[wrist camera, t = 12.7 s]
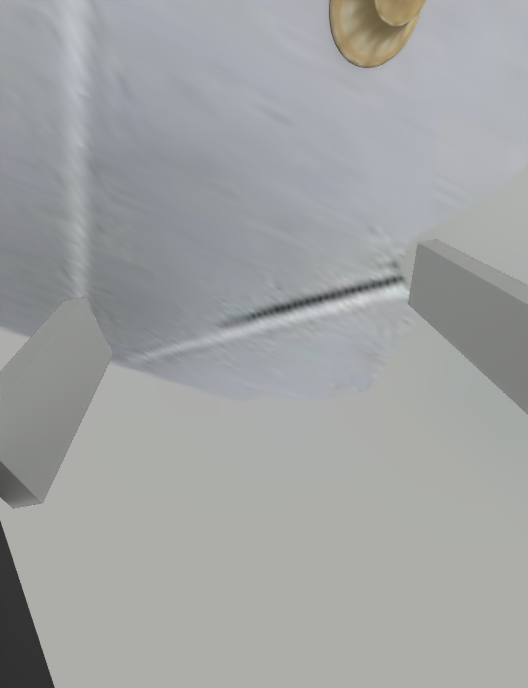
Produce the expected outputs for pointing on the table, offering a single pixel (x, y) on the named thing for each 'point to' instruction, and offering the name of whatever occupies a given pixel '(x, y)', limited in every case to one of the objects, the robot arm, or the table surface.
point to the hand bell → (372, 28)
